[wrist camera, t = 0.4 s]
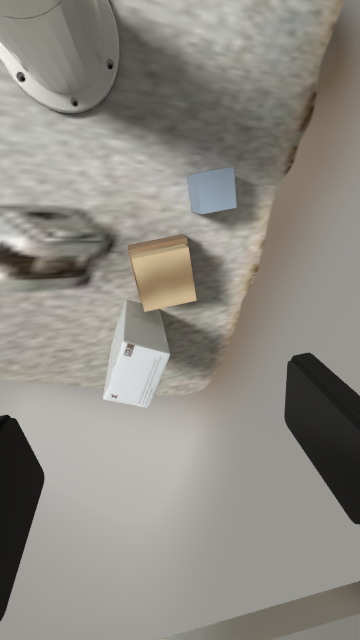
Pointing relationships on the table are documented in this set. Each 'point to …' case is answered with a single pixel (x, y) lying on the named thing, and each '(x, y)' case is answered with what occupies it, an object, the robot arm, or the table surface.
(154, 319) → the skincare box
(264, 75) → the table surface
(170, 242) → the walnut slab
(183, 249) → the oak slab
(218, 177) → the blue block
